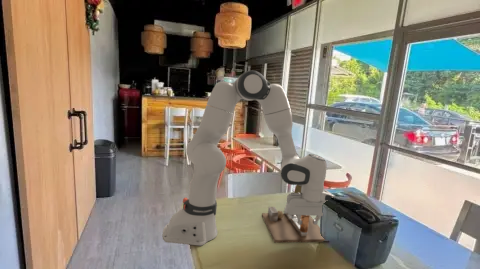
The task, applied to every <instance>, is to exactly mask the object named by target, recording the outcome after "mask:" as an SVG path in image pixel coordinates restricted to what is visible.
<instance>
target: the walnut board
mask: <svg viewBox="0 0 480 269" xmlns="http://www.w3.org/2000/svg"><path fill="white" fill-rule="evenodd" d="M267 208H268V209H267V212H262V213H261V217H262V218H263V221H264V223H265V225H266V227H267V229H268V231H269V234H270V236H271V237H272V238H271V239H272V240H273V243H275V244H279V243H282V244H283V243H286V244H287V243H323V242H322V241H324V240H325V239H324V238H323V237H322V236H321V234H320V228H321V227H320V226H319V225H318V224H317V225H314V224H313V219H314V218H312V215H309V224H308V231H307V236H301V235H300V234H299V233H298V231H297V230H296V228H295V227H294V225H293V224H292V223H291V222H290V221H288V219H287V218H288V217H287V216H286V214H285V213H284V212H282V213H283V217H282V218H281V219H278V212H277V211H278V210H277V208H276V207H275V206H268V207H267ZM301 217H302V215H301ZM301 217H299V218H300V219H301Z"/></svg>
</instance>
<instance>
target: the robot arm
mask: <svg viewBox="0 0 480 269" xmlns="http://www.w3.org/2000/svg"><path fill="white" fill-rule="evenodd" d="M240 101H257V102H258V103H259V104H260V106H261V109H262V113H263V116H264V117H263V118H264V120H265V122H266V123H265V124H266V125H267V127H268V129H269V131H270V132H271V133H272V134H274V135H275V137H276V138H277V141H278V145H279V148H280V149H279V150H280V153H281V161H280V162H281V163H280V167H281V168H280V176H281V179H282V181H283V182H285V183H286V184H287V185H291V186H296V185H302V188H301V193H294V192H290V193H289V194H288V195H287V196H286V204H285V207H286V208H285V207H284V211H286V212H287V214H288V215H296V217H297V219H298V221H297V223H298V225H302V220H301V219H300V218H299V217H301V215H310V216H315V218H312V219H313V224H314V225H318V222H319V221H320V219H321V218H322V217H323V213H322V205H323V203H325V202H326V201H328V200H330V199H331V198H333V197H334V198H335V196H334V195H333V193H331V192H330V191H328V190H327V189H325V186H324V183H325V180H326V177H327V176H326V174H327V166H328V165H327V161H326V160H325V158H323V157H322V156H320V155H318V154H314V153H309V154H307V155H305V156H303V157H300V155H299V154H298V153H297V151H296V147H295V143H294V138H293V133H292V132H293V113H292V109H291V104H290V102H289V99H288V96H287V94H286V91H285V89H284V88H283V86H282V85H281V84H279V83H271V82H269V81H268V79H266V77H265V76H264V75H263V74H262V73H261V72H259V71H257V70H246V71H244V72H243V73H242V74H240V75H239V76H238V77H237V79H236V80H235V81H234V82H229V81H223V80H221V81H219V82H217V83H216V84H215V85H214V87H213V88H212V91H211V92H210V95H209V97H208V99H207V102H206V105H205V109H204V111H203V114H202V118H201V120H200V123H199V126H198V128H197V129H196V131H195V133H194V135H193V137H192V138H191V140H190V141H189V142H188V143H187V145H186V150H185V151H186V152H185V153H186V156H187V158H188V160H189V161H190V162H191V163H192V164H193V174H192V179H191V180H190V181H189V185H188V186H189V187H188V188H189V189H188V198H187V197H184V198H183V199H182V203H183V207H182V208H181V209H180V210H178V211H176V212H175V213H173V214H172V216H171V217H170V219H169V222H168V223H166V225H165V226H164V228H163V230H162V235H161V236H162V240H163V242H164V243H170V244H178V245H179V244H180V245H181V244H182V245H187V246H189V245H190V246H204V245H205V244H206V243H207V242H209V241H211V240H213V239H215V238H216V237H217V236H218V228H217V223H216V222H217V221H216V215H217V211H218V210H217V207H218V204H217V189H218V188H217V186H218V182H219V178H220V175H221V173H222V172H223V171H224V170H225V169H226V165H227V157H226V156H225V154H224V152H223V151H222V150H221V149H220V148H219V147H218V145H219V143H220V140H222V138H223V136H225V135H226V134H227V133H228V130H229V128H230V124H231V122H232V119H233V115H234V112H235V110H236V106H237V104H238V102H240Z"/></svg>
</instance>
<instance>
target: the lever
mask: <svg viewBox="0 0 480 269" xmlns="http://www.w3.org/2000/svg"><path fill="white" fill-rule="evenodd" d="M285 208H286V206H285V207H284V209H285ZM283 213H285V214H286V216H287V217H288V218H287V219H288V221H290V222H291V223H292V224H293V225H294V227H295V228H296V230H297V231H298V233H299V234H300V235H301V236H307V231H308V224H309V215H302V217H301V220H302V225H298V223H297V221H298V219H297V217H296V215H288V214H287V212H286V211H285V210H283Z"/></svg>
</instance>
